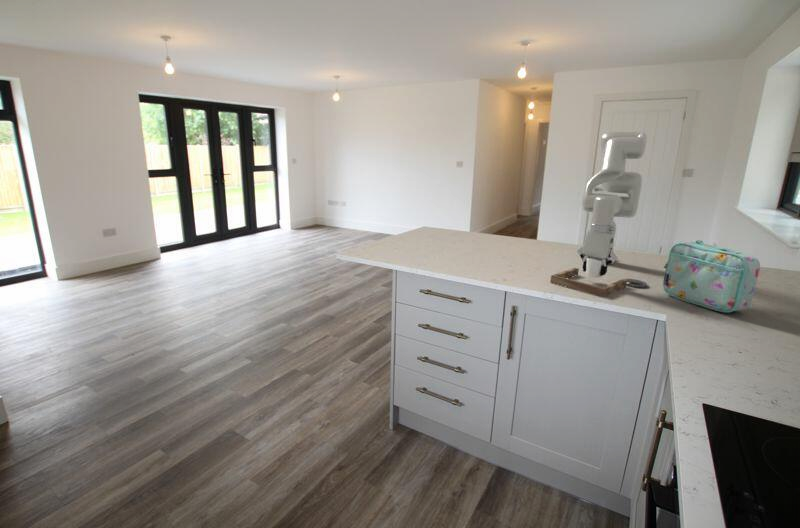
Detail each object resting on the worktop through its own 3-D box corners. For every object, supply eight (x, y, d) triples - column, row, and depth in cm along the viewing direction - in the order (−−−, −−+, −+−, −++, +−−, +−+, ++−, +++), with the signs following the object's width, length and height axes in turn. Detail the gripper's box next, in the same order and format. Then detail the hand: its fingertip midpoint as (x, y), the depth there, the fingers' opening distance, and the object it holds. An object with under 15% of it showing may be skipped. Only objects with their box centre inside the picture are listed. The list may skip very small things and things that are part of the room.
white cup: (605, 278, 158) (607, 261, 156) (586, 277, 159) (588, 259, 158) (600, 273, 165) (603, 256, 163) (582, 272, 166) (584, 255, 164)
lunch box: (654, 292, 153) (665, 236, 147) (672, 289, 157) (684, 235, 151) (731, 319, 129) (748, 254, 124) (751, 314, 133) (768, 251, 127)
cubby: (574, 274, 174) (575, 267, 173) (625, 287, 159) (627, 279, 158) (550, 282, 162) (551, 275, 161) (603, 297, 146) (604, 289, 146)
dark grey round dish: (626, 279, 168) (626, 277, 168) (650, 285, 161) (650, 282, 161) (617, 283, 162) (617, 281, 162) (641, 289, 156) (641, 287, 156)
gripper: (628, 231, 153) (620, 276, 158) (583, 224, 165) (577, 266, 170) (619, 233, 148) (611, 280, 153) (574, 226, 161) (568, 269, 166)
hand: (593, 272), depth 162 cm, fingers closed on white cup, 6 cm apart
